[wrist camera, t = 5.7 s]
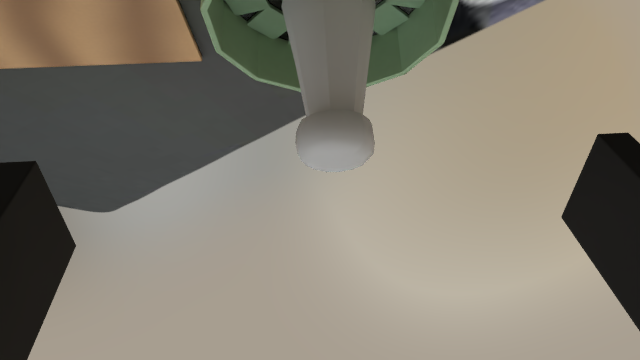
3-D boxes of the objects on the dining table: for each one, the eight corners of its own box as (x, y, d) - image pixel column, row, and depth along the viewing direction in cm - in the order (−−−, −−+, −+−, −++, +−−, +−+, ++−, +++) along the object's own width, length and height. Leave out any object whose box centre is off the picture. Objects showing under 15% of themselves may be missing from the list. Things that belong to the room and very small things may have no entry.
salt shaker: (374, 1, 33) (391, 178, 28) (293, 13, 33) (295, 186, 29) (369, -70, 27) (387, 134, 23) (271, -54, 28) (270, 146, 23)
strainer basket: (233, 51, 37) (231, 95, 36) (176, -132, 23) (170, -72, 22) (422, 44, 37) (427, 88, 36) (476, -144, 23) (489, -84, 22)
